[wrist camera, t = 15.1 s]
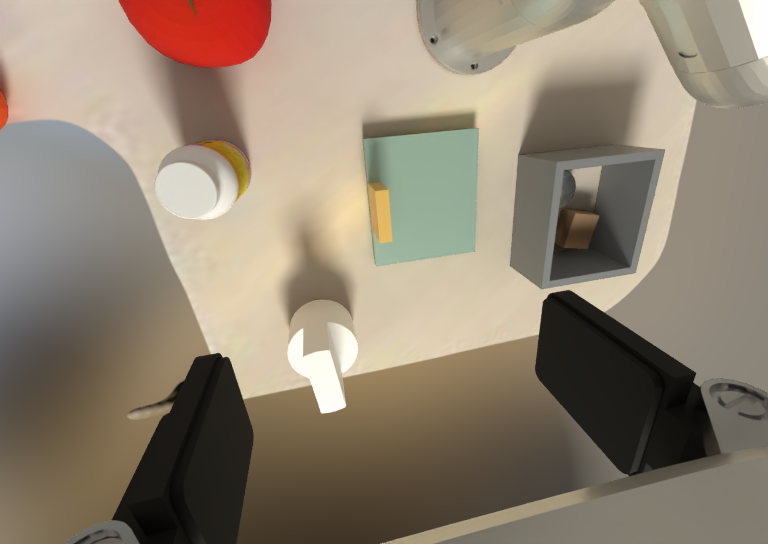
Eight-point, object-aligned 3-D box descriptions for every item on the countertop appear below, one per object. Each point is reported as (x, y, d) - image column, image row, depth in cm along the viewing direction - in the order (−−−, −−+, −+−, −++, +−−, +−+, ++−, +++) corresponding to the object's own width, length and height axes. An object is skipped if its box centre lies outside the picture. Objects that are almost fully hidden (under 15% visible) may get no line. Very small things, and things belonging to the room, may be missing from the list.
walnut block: (561, 208, 51) (575, 213, 49) (584, 210, 52) (599, 215, 50) (550, 240, 53) (563, 247, 50) (573, 242, 54) (587, 249, 51)
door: (361, 138, 42) (370, 142, 36) (471, 127, 44) (498, 129, 38) (373, 260, 49) (383, 282, 43) (469, 246, 51) (491, 265, 45)
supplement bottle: (224, 126, 39) (188, 130, 27) (264, 178, 42) (247, 201, 30) (175, 161, 39) (120, 179, 28) (218, 209, 42) (185, 244, 31)
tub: (518, 155, 47) (556, 162, 39) (612, 144, 49) (665, 149, 41) (510, 265, 53) (541, 289, 46) (593, 252, 55) (635, 273, 48)
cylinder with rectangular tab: (358, 344, 54) (370, 401, 43) (299, 359, 53) (296, 421, 42) (345, 292, 50) (356, 341, 39) (281, 308, 49) (274, 362, 38)
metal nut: (569, 188, 50) (581, 190, 49) (545, 214, 50) (555, 216, 49) (554, 162, 48) (565, 163, 46) (528, 189, 48) (539, 191, 46)
